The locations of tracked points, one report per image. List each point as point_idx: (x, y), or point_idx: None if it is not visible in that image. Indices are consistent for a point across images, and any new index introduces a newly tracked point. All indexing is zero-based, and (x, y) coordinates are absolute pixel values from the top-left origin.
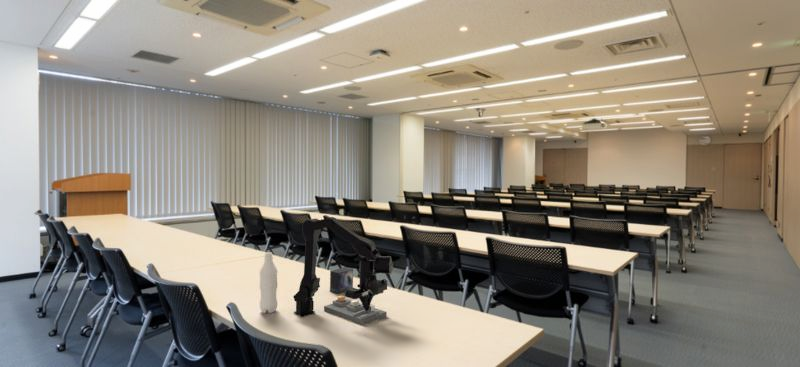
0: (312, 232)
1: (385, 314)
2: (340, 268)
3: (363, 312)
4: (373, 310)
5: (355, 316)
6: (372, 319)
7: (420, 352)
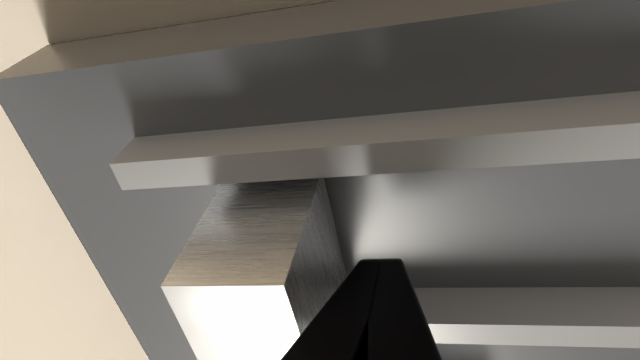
0: None
1: (41, 58)
2: None
3: None
4: (236, 208)
5: (636, 272)
6: (395, 8)
7: None
